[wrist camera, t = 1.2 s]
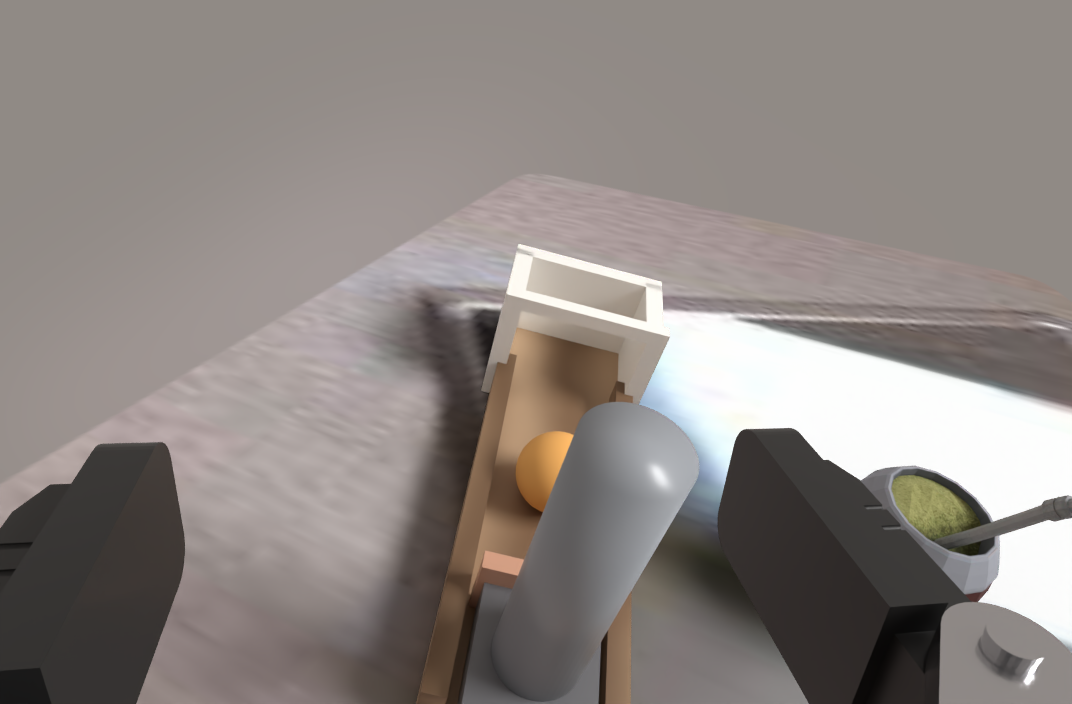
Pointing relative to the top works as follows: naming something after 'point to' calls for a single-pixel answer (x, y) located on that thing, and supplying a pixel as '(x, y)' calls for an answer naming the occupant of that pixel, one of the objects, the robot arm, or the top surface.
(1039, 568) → the top surface
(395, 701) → the top surface
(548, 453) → the ball
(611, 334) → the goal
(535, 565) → the grey tall cylindrical piece
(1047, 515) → the mate gourd
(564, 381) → the track
